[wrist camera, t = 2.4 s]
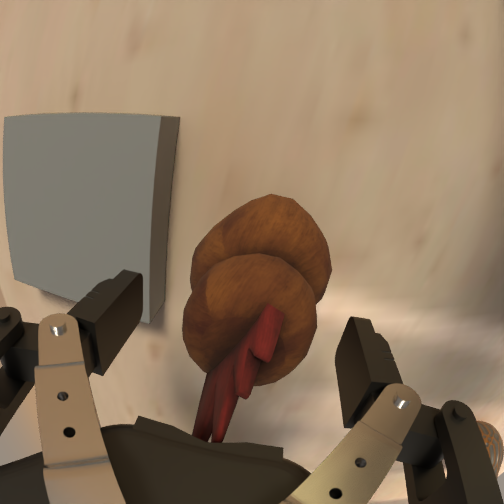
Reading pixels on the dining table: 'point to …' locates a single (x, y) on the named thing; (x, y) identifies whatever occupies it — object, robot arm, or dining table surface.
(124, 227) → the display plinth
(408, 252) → the dining table surface
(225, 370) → the wooden figurine
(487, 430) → the vase
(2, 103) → the dining table surface
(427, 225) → the dining table surface
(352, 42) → the dining table surface
